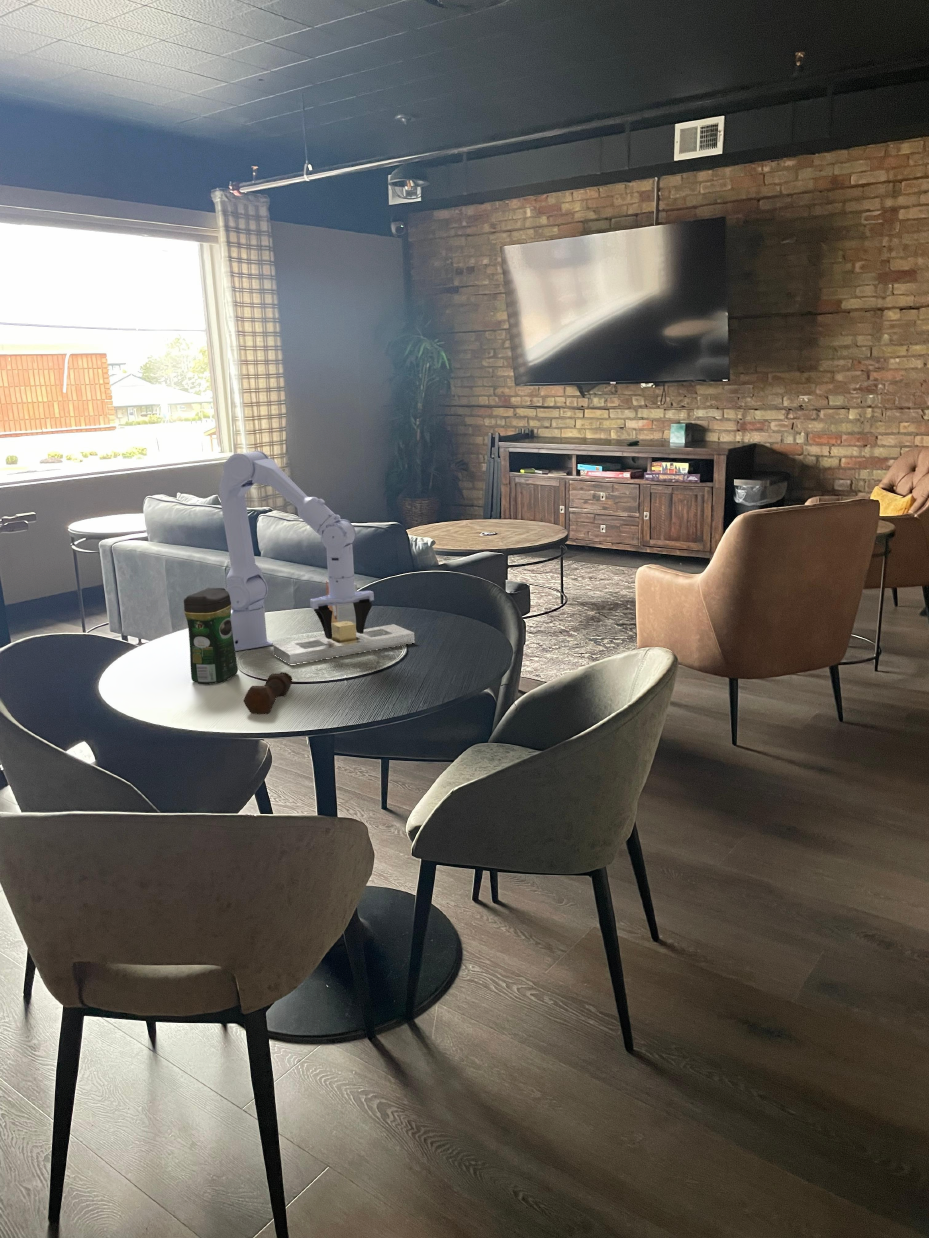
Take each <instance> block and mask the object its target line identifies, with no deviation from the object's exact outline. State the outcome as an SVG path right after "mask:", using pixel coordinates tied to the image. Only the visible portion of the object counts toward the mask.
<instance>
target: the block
mask: <svg viewBox="0 0 929 1238" xmlns="http://www.w3.org/2000/svg"><path fill="white" fill-rule="evenodd" d="M331 626H332V638H333V641H335V642H337V643H343V642H349V641H354V640H356V631H357V630H356V624H354V623H352V622H350V621H342V622H336V623H331Z"/></svg>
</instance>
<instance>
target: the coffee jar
mask: <svg viewBox="0 0 929 1238" xmlns="http://www.w3.org/2000/svg"><path fill="white" fill-rule="evenodd" d="M231 609H232V608H231V600H230V595H229V593H228V591H226V589H225V587H206V588H205V589H202V590H200V591H197V592H196V593H192V594H189V595H187V596H186V597H184V599H183V611H184V612H183V613H184V616H185V618H186V619H185V620H186V623H187V628H188V630H187V631H188V638H189V639H188V640H189V642H188V643H189V659H190V660H189V664H190V665H189V667H190V676H191V677H190V678H191V681H192V682H194V683H196V684H199V685H206V686H208V685H213V684H221V683H224V682H227V681H228V680H230V679H232V678H233V677H234V676H236V675H237V674H238V672H239V667H238V660H237V655H236V651H235V647H234V640H233V633H232V625H231Z"/></svg>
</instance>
